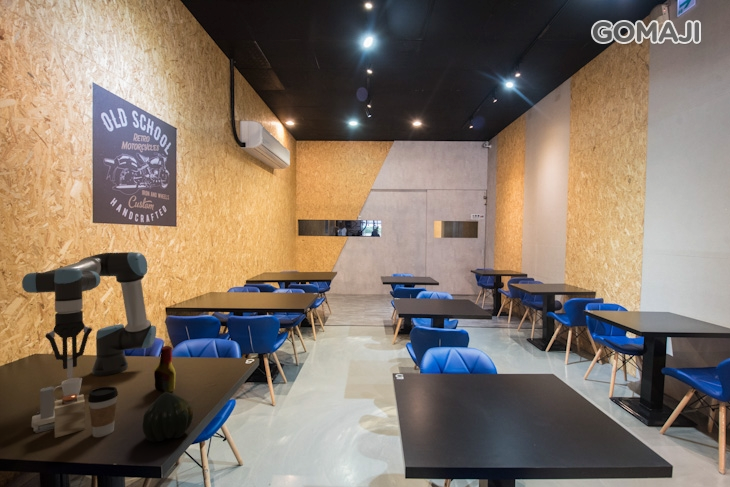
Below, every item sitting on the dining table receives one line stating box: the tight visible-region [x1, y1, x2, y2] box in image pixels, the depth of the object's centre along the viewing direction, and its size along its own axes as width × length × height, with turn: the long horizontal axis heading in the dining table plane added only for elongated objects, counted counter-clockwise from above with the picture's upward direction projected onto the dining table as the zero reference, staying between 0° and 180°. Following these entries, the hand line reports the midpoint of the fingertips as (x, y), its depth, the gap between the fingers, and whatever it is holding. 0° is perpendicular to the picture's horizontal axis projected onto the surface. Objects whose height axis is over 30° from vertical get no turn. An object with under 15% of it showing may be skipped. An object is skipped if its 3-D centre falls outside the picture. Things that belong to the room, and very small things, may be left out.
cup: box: [53, 377, 83, 401], centre depth 146 cm, size 7×10×8 cm
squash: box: [142, 392, 194, 443], centre depth 118 cm, size 14×15×15 cm
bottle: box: [153, 345, 176, 393], centre depth 155 cm, size 12×6×20 cm, turn 58°
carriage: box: [31, 385, 55, 432], centre depth 126 cm, size 8×7×13 cm
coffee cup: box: [87, 386, 119, 438], centre depth 120 cm, size 8×8×15 cm
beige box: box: [54, 393, 86, 439], centre depth 123 cm, size 8×8×10 cm
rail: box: [34, 407, 55, 434], centre depth 129 cm, size 6×19×2 cm, turn 42°
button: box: [61, 394, 77, 404], centre depth 123 cm, size 4×4×7 cm
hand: (70, 376), depth 123 cm, fingers closed
